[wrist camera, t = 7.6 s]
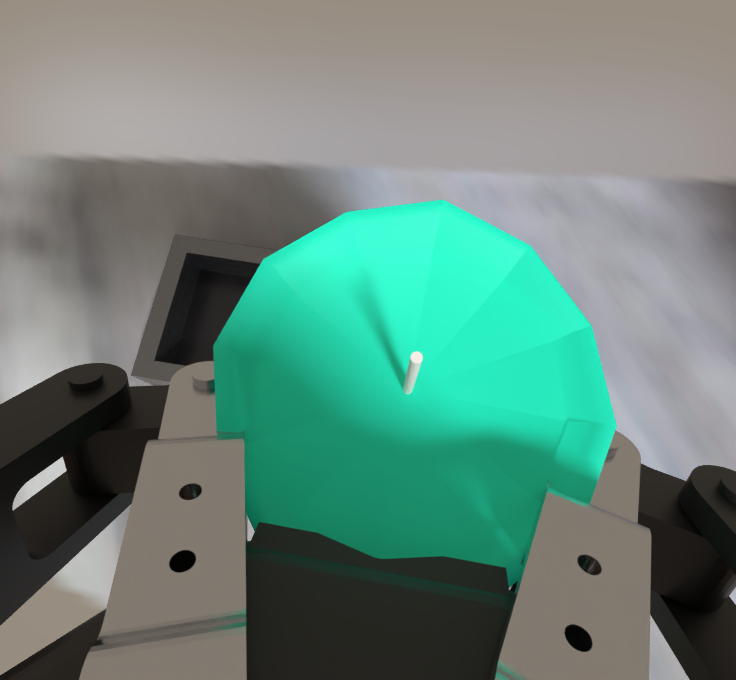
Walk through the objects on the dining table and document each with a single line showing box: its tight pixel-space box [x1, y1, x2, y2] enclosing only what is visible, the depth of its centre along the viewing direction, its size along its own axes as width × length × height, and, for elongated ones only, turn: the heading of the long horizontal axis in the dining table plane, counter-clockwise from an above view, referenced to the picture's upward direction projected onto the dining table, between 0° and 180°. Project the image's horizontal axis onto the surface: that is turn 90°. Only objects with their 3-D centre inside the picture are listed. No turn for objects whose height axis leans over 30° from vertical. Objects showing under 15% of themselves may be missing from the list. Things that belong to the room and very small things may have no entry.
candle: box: [213, 200, 617, 587], centre depth 11 cm, size 6×6×12 cm
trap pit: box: [131, 235, 278, 386], centre depth 28 cm, size 9×9×3 cm
